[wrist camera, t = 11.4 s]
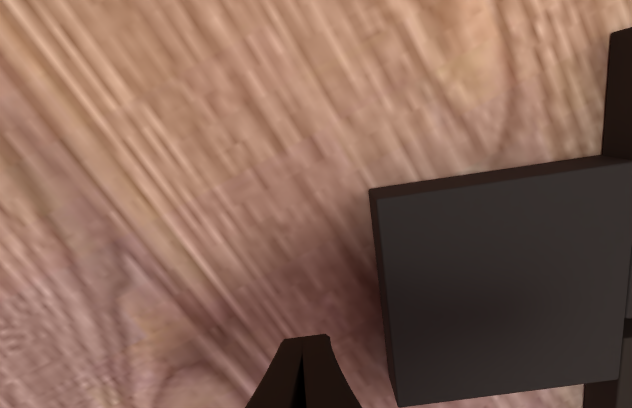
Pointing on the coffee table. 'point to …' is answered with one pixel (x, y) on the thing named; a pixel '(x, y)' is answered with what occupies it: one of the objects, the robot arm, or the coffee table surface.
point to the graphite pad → (505, 278)
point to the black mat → (626, 143)
